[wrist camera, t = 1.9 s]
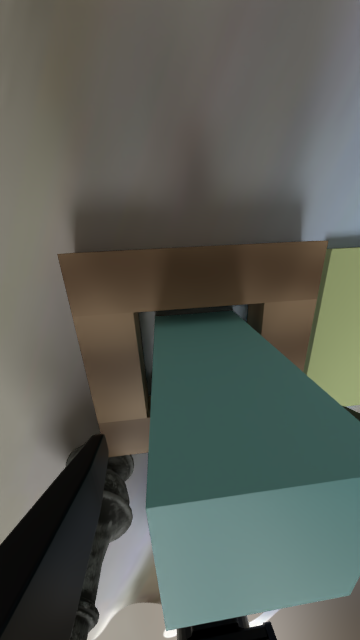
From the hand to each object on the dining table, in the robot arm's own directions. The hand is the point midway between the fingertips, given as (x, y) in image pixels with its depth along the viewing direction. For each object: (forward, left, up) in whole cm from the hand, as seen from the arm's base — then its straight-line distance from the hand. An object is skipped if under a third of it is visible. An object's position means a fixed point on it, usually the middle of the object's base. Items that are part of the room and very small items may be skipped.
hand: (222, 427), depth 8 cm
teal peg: (0, 0, -6) cm, 6 cm away
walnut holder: (0, 0, -6) cm, 6 cm away
